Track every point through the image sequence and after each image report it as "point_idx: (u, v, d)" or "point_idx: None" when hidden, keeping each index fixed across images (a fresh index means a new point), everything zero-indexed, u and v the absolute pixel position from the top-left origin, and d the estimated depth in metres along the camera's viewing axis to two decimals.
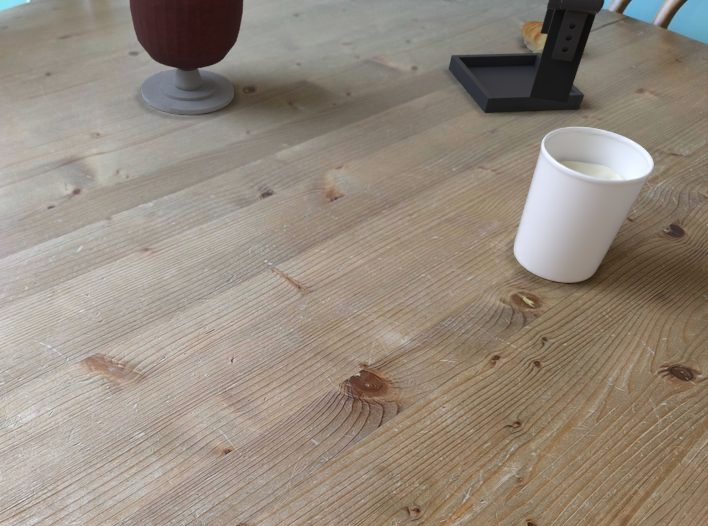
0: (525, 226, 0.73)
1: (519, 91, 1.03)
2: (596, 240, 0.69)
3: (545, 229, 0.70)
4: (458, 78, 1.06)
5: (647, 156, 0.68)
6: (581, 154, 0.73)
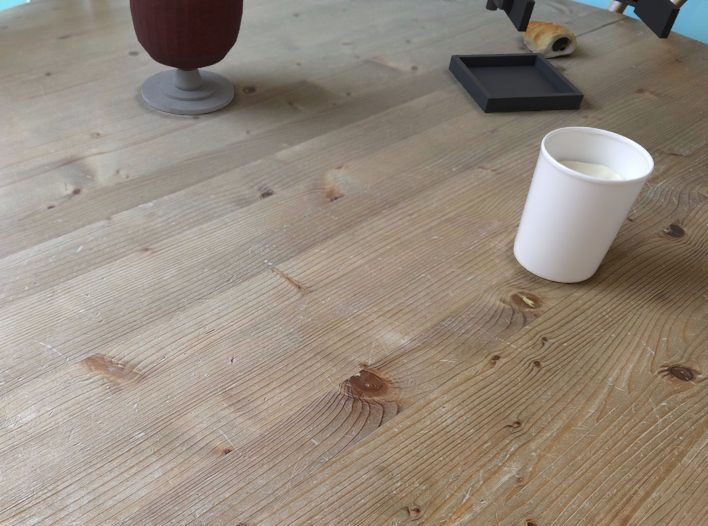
0: (525, 226, 0.73)
1: (519, 91, 1.03)
2: (596, 240, 0.69)
3: (545, 229, 0.70)
4: (458, 78, 1.06)
5: (647, 156, 0.68)
6: (581, 154, 0.73)
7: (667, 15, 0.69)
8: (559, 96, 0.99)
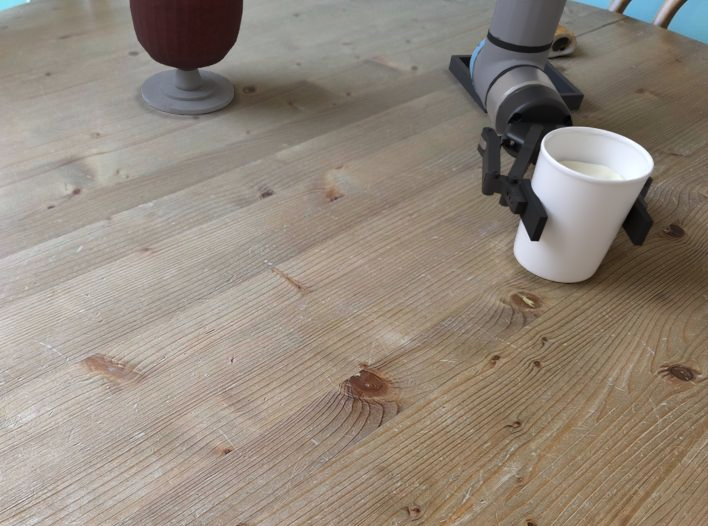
0: None
1: None
2: (596, 240, 0.69)
3: (545, 229, 0.70)
4: (458, 78, 1.06)
5: (647, 156, 0.68)
6: (581, 154, 0.73)
7: (641, 225, 0.68)
8: None
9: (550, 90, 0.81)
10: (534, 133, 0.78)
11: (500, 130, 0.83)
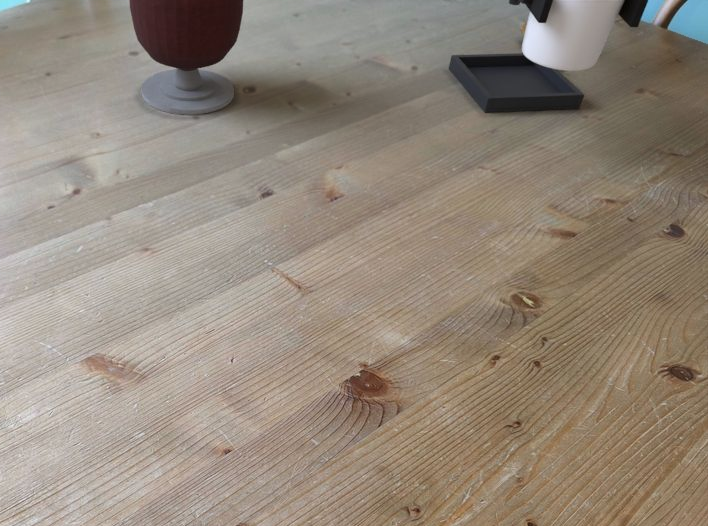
0: (533, 19, 0.81)
1: (519, 91, 1.03)
2: (597, 22, 0.78)
3: (551, 15, 0.79)
4: (458, 78, 1.06)
5: None
6: None
7: (637, 6, 0.77)
8: (559, 96, 0.99)
9: None
10: None
11: None
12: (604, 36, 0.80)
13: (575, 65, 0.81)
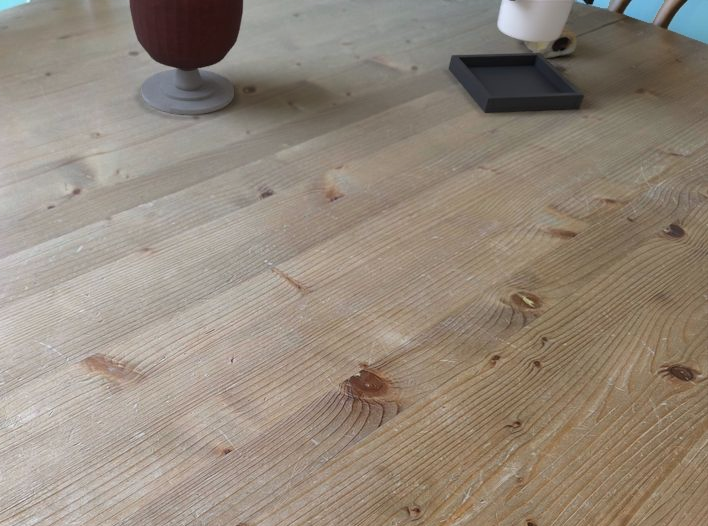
0: None
1: (519, 91, 1.03)
2: (558, 0, 0.92)
3: None
4: (458, 78, 1.06)
5: None
6: None
7: None
8: (559, 96, 0.99)
9: None
10: None
11: None
12: (565, 12, 0.94)
13: (541, 37, 0.96)
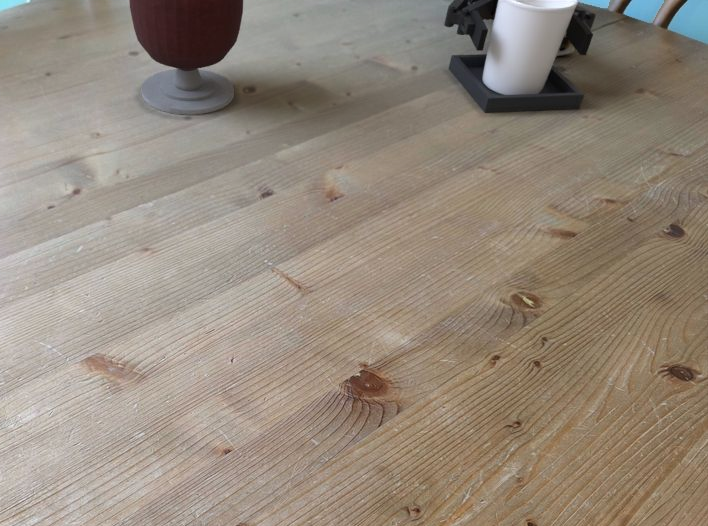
0: (489, 55, 1.01)
1: None
2: (539, 59, 0.98)
3: (503, 53, 0.99)
4: (458, 78, 1.06)
5: None
6: (530, 3, 1.01)
7: (584, 38, 0.97)
8: (559, 96, 0.99)
9: None
10: None
11: None
12: (546, 70, 0.99)
13: (523, 93, 1.01)
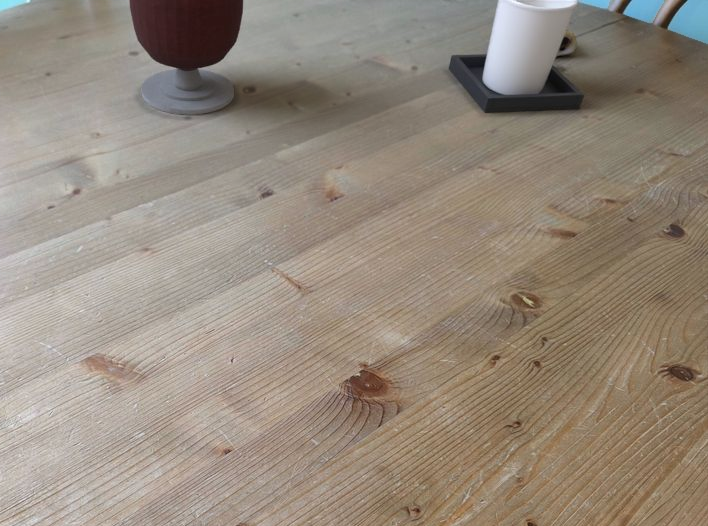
0: (489, 55, 1.01)
1: None
2: (539, 59, 0.98)
3: (503, 53, 0.99)
4: (458, 78, 1.06)
5: None
6: (530, 3, 1.01)
7: None
8: (559, 96, 0.99)
9: None
10: None
11: None
12: (546, 70, 0.99)
13: (523, 93, 1.01)
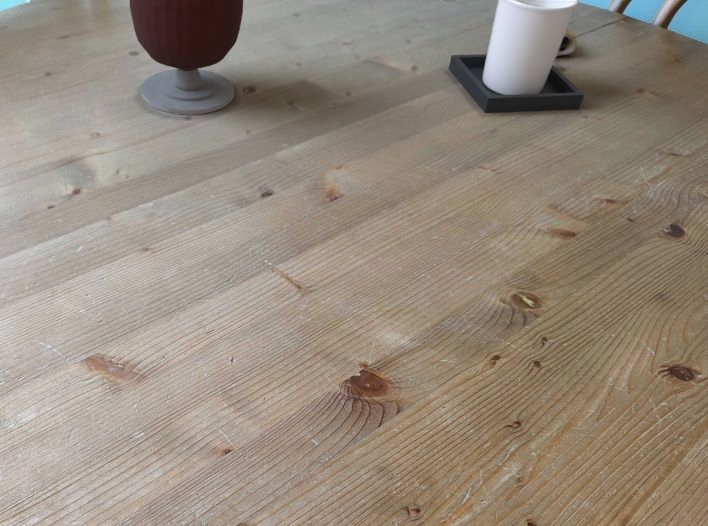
0: (489, 55, 1.01)
1: None
2: (539, 59, 0.98)
3: (503, 53, 0.99)
4: (458, 78, 1.06)
5: None
6: (530, 3, 1.01)
7: None
8: (559, 96, 0.99)
9: None
10: None
11: None
12: (546, 70, 0.99)
13: (523, 93, 1.01)
